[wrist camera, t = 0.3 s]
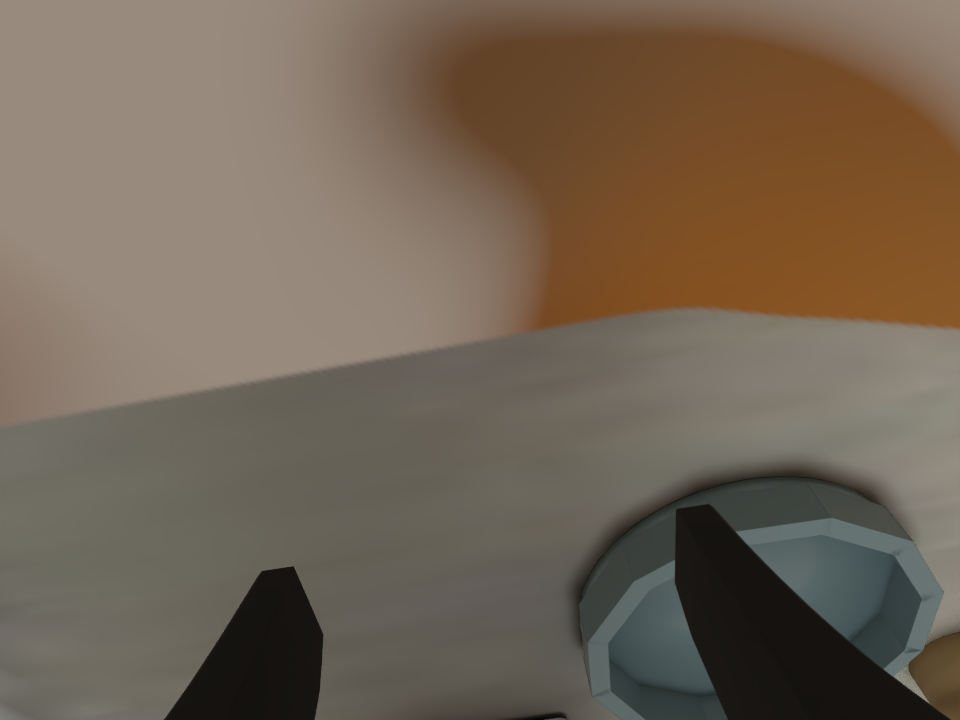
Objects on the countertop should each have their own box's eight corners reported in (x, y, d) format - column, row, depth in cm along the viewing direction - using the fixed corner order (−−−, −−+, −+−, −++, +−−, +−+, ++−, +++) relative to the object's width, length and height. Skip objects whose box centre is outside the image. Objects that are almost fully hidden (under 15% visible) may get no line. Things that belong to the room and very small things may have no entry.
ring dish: (869, 669, 32) (898, 717, 30) (586, 709, 33) (597, 759, 31) (934, 452, 25) (978, 496, 23) (568, 505, 25) (579, 553, 23)
